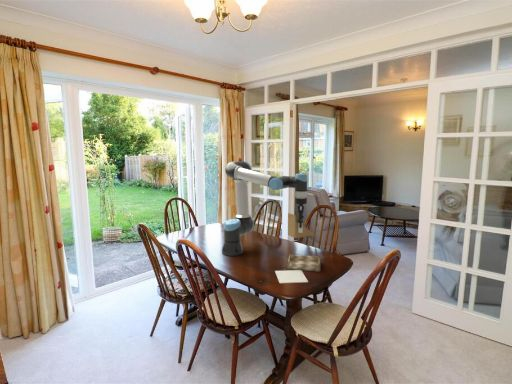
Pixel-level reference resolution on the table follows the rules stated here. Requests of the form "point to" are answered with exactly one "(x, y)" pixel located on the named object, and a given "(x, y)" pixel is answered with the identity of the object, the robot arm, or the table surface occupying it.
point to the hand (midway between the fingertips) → (300, 229)
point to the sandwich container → (296, 227)
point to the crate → (303, 263)
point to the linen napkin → (291, 276)
